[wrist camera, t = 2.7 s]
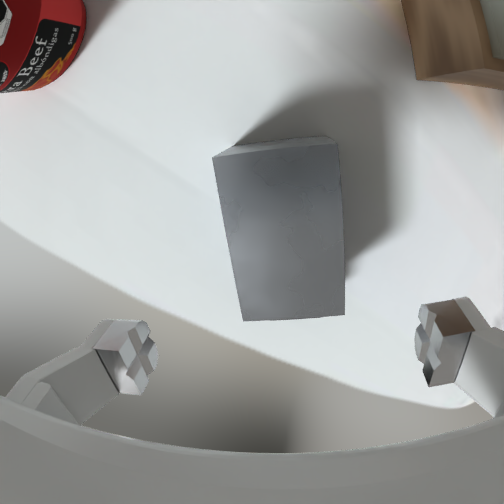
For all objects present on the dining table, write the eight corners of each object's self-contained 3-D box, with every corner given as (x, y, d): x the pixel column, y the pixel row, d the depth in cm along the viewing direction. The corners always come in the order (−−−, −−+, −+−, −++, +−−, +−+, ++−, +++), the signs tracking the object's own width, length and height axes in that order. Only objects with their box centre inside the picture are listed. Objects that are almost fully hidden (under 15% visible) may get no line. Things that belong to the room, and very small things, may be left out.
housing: (232, 146, 16) (211, 157, 12) (326, 135, 15) (337, 143, 11) (257, 298, 20) (247, 345, 16) (336, 293, 19) (343, 339, 15)
